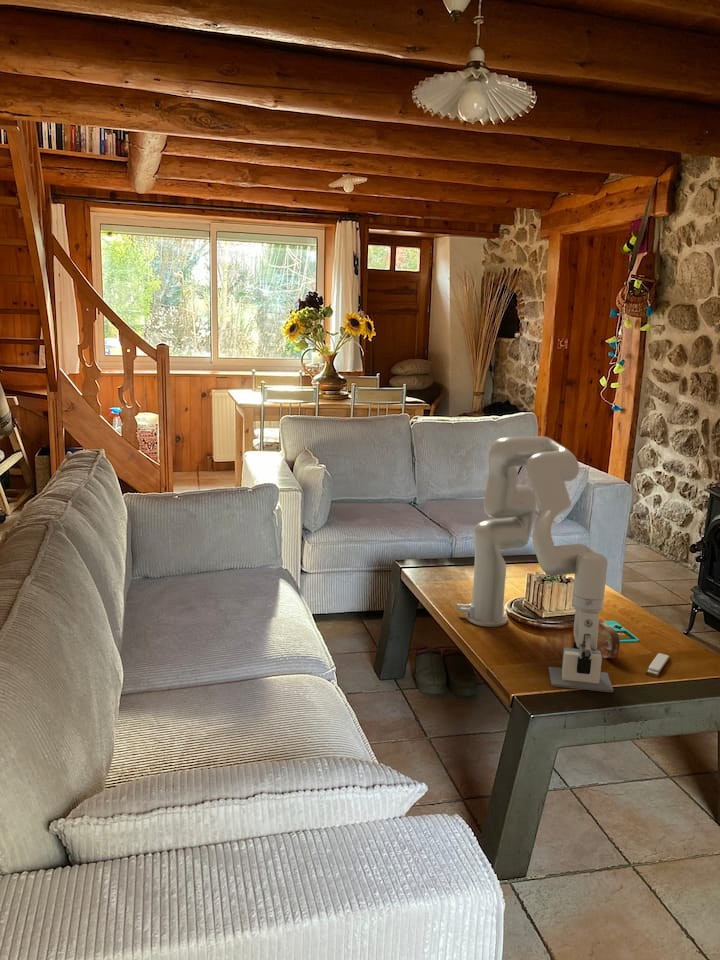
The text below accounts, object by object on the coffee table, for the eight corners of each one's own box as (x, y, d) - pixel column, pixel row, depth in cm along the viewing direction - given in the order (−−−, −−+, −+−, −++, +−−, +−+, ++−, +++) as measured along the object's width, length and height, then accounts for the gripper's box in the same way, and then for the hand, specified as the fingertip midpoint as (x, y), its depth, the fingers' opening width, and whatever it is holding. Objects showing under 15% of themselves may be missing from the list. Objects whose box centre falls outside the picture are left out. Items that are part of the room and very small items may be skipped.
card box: (599, 683, 192) (601, 657, 190) (562, 679, 193) (565, 653, 192) (597, 676, 195) (599, 651, 194) (561, 672, 197) (563, 647, 196)
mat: (551, 685, 191) (551, 683, 191) (548, 668, 200) (548, 666, 200) (613, 692, 188) (613, 690, 188) (607, 674, 198) (607, 672, 198)
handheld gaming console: (614, 619, 235) (640, 639, 220) (614, 622, 235) (640, 643, 220) (589, 620, 233) (613, 640, 219) (589, 624, 233) (613, 644, 219)
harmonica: (658, 657, 211) (659, 650, 211) (669, 660, 210) (670, 653, 209) (645, 675, 199) (645, 668, 199) (657, 679, 198) (658, 672, 197)
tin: (583, 641, 219) (586, 613, 218) (593, 640, 220) (596, 613, 218) (609, 663, 205) (612, 634, 203) (619, 663, 205) (622, 634, 204)
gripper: (608, 615, 181) (600, 681, 185) (598, 591, 198) (591, 652, 201) (575, 612, 182) (569, 678, 186) (568, 588, 199) (562, 649, 203)
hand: (580, 664), depth 194 cm, fingers open, 9 cm apart
